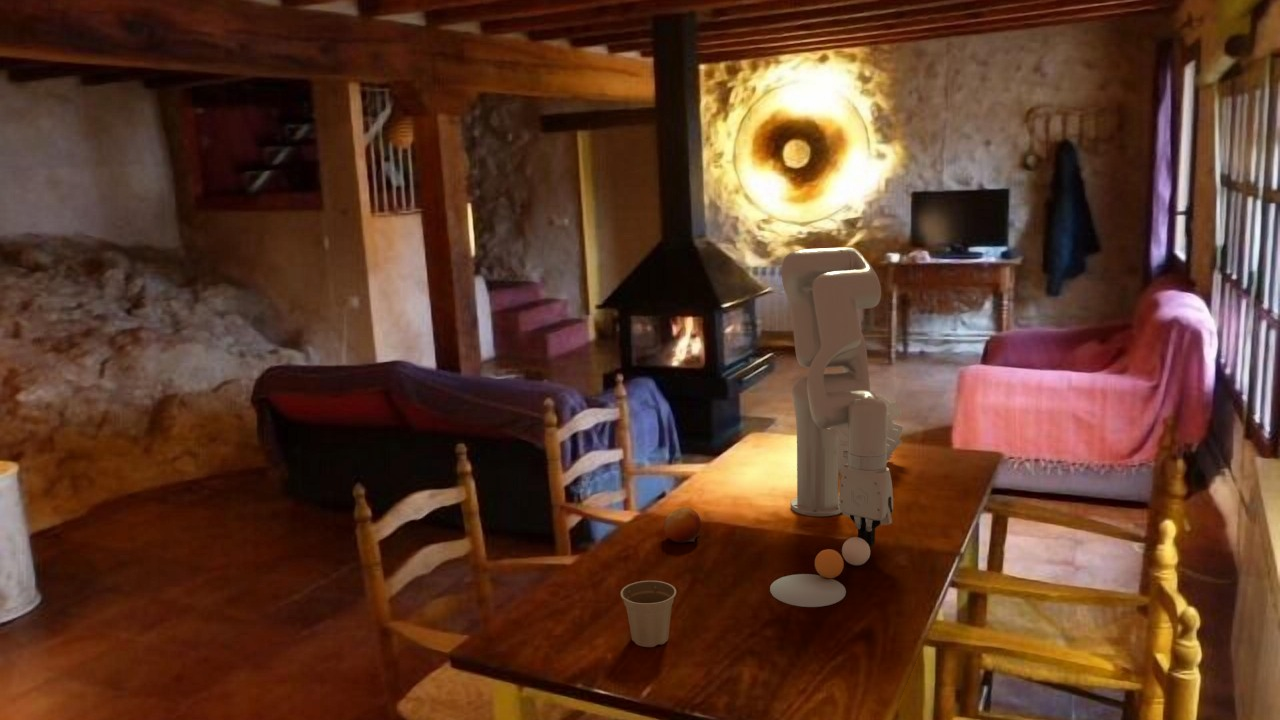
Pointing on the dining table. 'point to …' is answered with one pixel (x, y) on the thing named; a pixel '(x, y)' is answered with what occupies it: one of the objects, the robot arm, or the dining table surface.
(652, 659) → the dining table surface
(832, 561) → the orange ball
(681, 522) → the fruit
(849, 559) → the cue ball
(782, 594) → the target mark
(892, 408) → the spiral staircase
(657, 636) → the flower pot
